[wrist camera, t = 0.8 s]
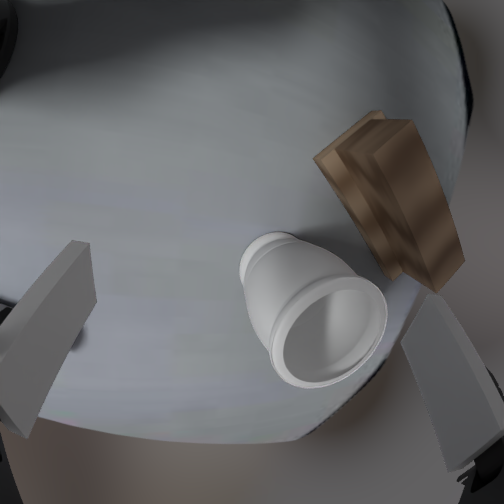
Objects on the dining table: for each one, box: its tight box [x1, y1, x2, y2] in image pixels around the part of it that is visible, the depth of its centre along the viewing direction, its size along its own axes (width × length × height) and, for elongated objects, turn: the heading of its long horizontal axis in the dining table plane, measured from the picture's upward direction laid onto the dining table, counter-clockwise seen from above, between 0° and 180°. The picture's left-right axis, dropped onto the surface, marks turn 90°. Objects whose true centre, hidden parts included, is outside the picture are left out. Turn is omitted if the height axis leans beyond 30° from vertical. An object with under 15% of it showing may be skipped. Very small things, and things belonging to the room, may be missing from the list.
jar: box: [239, 232, 387, 388], centre depth 30 cm, size 11×10×15 cm
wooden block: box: [313, 111, 465, 293], centre depth 34 cm, size 20×10×9 cm, turn 38°
